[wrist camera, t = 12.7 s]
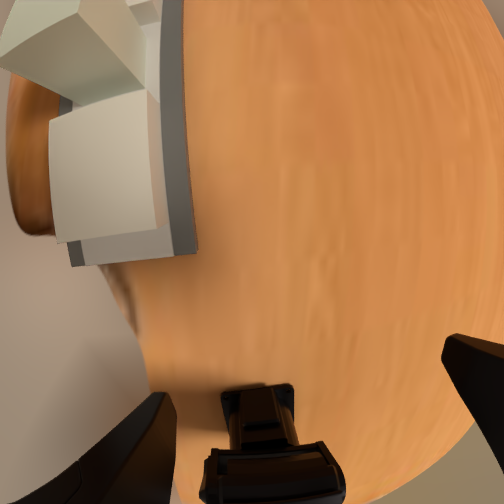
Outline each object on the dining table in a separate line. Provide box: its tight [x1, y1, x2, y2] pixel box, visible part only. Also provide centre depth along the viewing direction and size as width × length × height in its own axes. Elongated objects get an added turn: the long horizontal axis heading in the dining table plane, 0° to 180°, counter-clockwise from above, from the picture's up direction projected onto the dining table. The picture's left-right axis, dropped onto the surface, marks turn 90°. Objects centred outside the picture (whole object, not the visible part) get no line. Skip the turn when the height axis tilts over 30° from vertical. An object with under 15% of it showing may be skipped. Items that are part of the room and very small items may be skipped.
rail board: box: [49, 0, 198, 267], centre depth 13 cm, size 28×10×4 cm, turn 5°
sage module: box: [0, 0, 147, 106], centre depth 9 cm, size 5×5×10 cm
